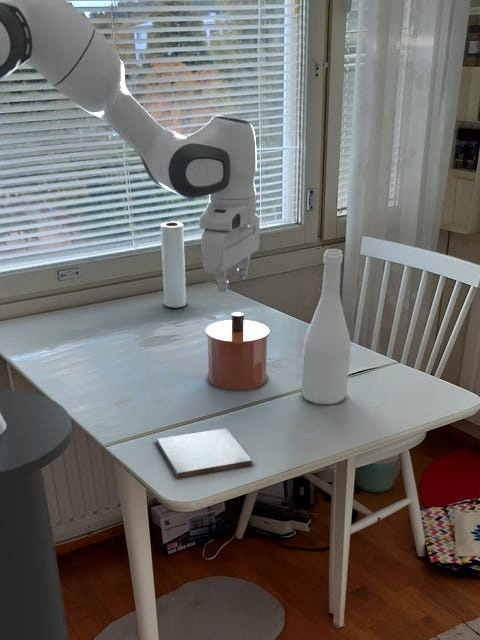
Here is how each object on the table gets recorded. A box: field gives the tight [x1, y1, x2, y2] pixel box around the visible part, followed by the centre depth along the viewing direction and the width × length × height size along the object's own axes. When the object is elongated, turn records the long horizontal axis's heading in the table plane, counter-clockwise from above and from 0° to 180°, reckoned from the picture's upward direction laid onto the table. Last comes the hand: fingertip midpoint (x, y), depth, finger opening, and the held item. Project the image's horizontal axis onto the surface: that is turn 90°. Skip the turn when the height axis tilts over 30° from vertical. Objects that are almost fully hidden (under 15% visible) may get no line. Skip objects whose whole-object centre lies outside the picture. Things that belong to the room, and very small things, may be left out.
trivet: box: [155, 427, 253, 479], centre depth 144 cm, size 14×14×1 cm
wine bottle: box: [300, 248, 352, 405], centre depth 158 cm, size 10×10×30 cm
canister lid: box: [205, 311, 271, 344], centre depth 167 cm, size 14×14×5 cm
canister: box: [207, 337, 268, 391], centre depth 171 cm, size 13×13×10 cm
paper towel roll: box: [160, 220, 187, 308], centre depth 211 cm, size 7×6×21 cm
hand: (232, 284), depth 157 cm, fingers open, 8 cm apart
